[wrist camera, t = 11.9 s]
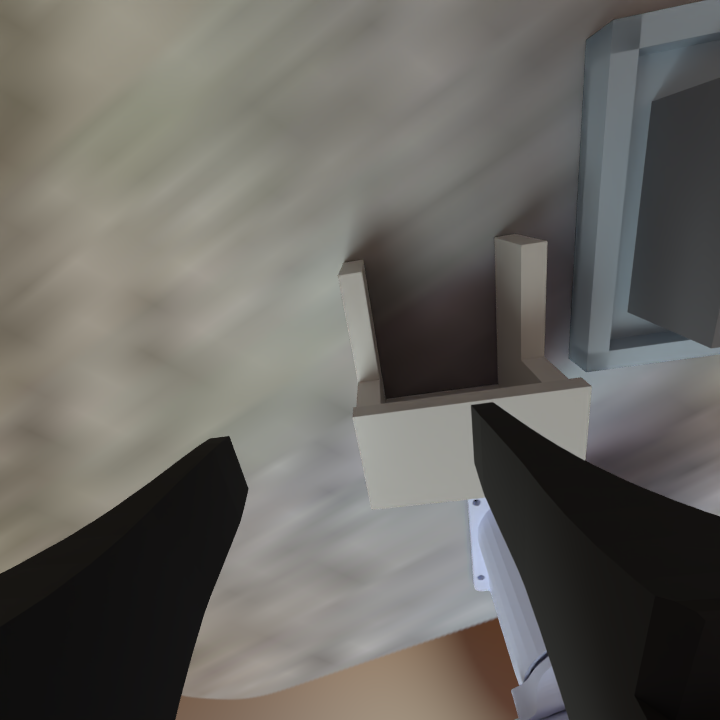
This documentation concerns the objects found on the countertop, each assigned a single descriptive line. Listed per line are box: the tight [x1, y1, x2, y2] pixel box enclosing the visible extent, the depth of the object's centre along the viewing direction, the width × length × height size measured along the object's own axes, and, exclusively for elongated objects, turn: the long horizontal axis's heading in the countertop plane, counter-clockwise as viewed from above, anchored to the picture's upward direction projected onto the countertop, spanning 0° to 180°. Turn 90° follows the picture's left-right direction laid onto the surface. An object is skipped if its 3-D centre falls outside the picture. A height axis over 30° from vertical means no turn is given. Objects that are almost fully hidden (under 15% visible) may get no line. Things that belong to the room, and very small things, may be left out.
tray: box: [569, 0, 720, 372], centre depth 16 cm, size 14×9×2 cm, turn 10°
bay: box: [338, 234, 592, 510], centre depth 17 cm, size 9×8×7 cm
